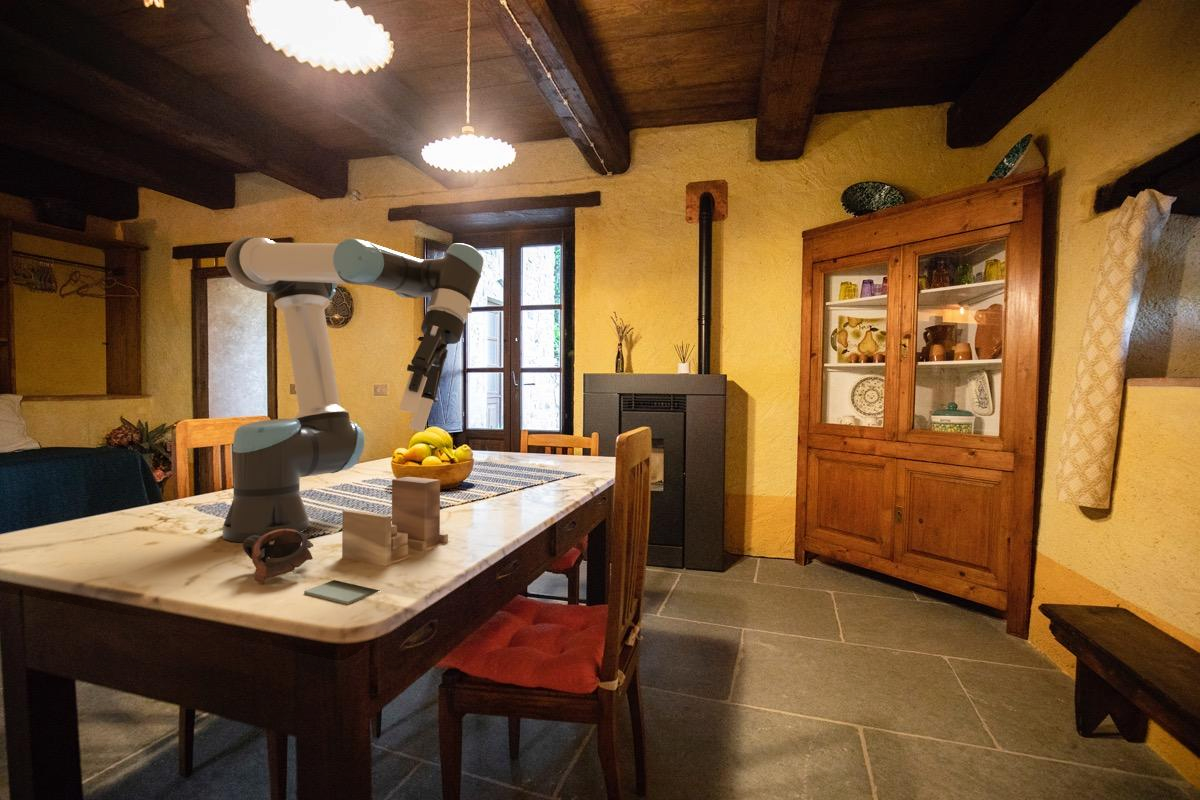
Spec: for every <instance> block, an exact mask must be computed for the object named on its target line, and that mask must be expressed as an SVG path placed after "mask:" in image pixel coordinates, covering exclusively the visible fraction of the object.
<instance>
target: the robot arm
mask: <svg viewBox="0 0 1200 800" xmlns="http://www.w3.org/2000/svg"><path fill="white" fill-rule="evenodd" d="M444 253H445V255H444V257H436V258H429V259H423V258H421V259H420V258H417V257H414V256H411V255H408V254H405V253H401V252H400V251H395V250H392V249H389V248H387V247H383V246H380V245H377V244H375V243H372V242H371V241H368V240H363V239H358V238H353V237H352V238H351V237H350V238H349V237H348V238H345V239H344V240H343V241H340V242H339V243H324V242H323V243H322V242H321V243H319V242H318V243H317V242H316V243H313V242H311V243H310V242H276V241H274V240H270V239H269V238H266V237H256V236H255V237H254V236H245V237H241V238H238V239H236V240H234V241H233V242H232V243H231V244H230V245H229V246H228V247H227V250H226V252H225V256H224V261H225V267H226V269H227V271H228V272H229V274H230V275H231V277H232V278H233V279H234V280H235V281H236V282H238V283H239V284H241V285H242V286H243V287H246V288H248V289H251V290H255V291H258V292H261V293H267V294H272V298H273V303H274V307H275V308H276V309H278V310H279V311H280V312H282V314H283V319H284V325H285V332H286V337H287V343H288V350H289V356H290V363H291V367H292V368H291V369H292V375H293V381H294V387H295V393H296V398H297V399H296V400H297V401H296V402H297V404H298V405H297V406H298V412H297V414H296V415H295V416H294V418H275V419H267V420H259V421H253V422H249V423H244V424H242V425H240V426H239V427H237V428H236V429H235V431H234V433H233V434H234V435H233V444H232V452H233V458H232V459H233V497H232V498H233V499H232V501H231V504H230V507H229V510H228V512H227V515H226V517H225V519H224V523H223V525H222V539H223V540H225V541H229V542H233V543H234V542H235V543H244V541H245V540H246V539H247V538H248V537H250V536H253V535H257V536H261V537H262V536H263V535H265V534H267V533H269V532H271V531H274V530H279V529H294V530H297V531H300V532H301V531H303V530H305V529H307V528H308V527H309V528H310V526H309V525H310V524H309V523H310V519H309V515H308V512H307V510H306V506H305V505H304V502H303V499H302V496H301V493H300V492H301V491H300V489H301V488H300V485H301V484H300V482H301V481H300V478H306V477H311V476H318V475H323V474H335V473H338V472H342V471H347V470H349V469H352V468H353V467H355V465H357V463H358V462H359V461H360V459H361V457H362V456H363V453H364V451H365V450H364V449H365V435H364V434H365V433H364V432H363V429H362V428H361V427H360V425H359V424H357V423H356V422H353V421H352V420H351V419H350V412H349V411H348V410H346V409H345V408H344V407H342V406H341V402H340V396H339V391H338V384H337V378H336V374H335V373H336V372H335V368H334V367H335V366H334V360H333V355H332V349H331V342H330V336H329V330H328V325H327V317H326V312H325V310H326V309H327V308H328V306H330V304H331V301H330V300H332V299H333V297H334V296H335V294H336V292H337V290H336V289H335V288H338V284H342V285H343V284H345V285H346V284H347V285H355V286H369V287H370V286H371V287H375V288H380V289H385V290H388V291H393V292H394V293H395V294H396V295H397V296H399V297H401V298H405V299H406V298H407V299H408V298H409V299H419V298H420V299H421V298H429V303H428V305H427V308H426V312H425V314H424V317H423V320H422V323H421V324H420V325H421V326H420V330H421V333H423V335H424V336H423V337H422V340H421V341H420V343H419V345H418V347H417V348H416V349H417V350H416V351H415V354H414V356H413V357H412V359H411V364H407V367H406V371H407V372H410V375H409V377H408V381H407V383H406V386H405V388H404V392H403V394H402V398H401V401H400V404H399V406H398V410H401V411H405V412H409V413H412V417H411V420H410V423H409V426H408V429H410V430H413V431H418V432H421V433H424V432H425V430H426V429H425V428H426V425H427V422H428V419H429V416H430V413H431V409H432V407H433V403H434V402H435V403H438V401H439V398H438V397H437V395H438V391H439V387H440V383H441V382H440V381H441V378H442V372H443V369H444V365H445V361H446V359H447V357H448V356H447V355H448V349H447V348H448V345H455V344H457V343H459V342H460V341H461V339H462V335H463V333H464V332H463V331H464V329H465V323H466V322H467V318H468V314H472V312H473V309H472V308H471V306H472V303H473V299H474V296H475V293H476V290H477V287H478V284H479V280H480V279H481V277H482V271H483V267H484V258H483V257H484V256H482V254H481V253H480V252H479V251H478V250H477V249H476V248H475V247H473V246H472V245H469V244H466V243H460V242H459V243H458V242H457V243H452V244H451V245H449V246H448V248H447V250H446V252H444ZM309 528H308V529H309Z"/></svg>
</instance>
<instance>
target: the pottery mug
mask: <svg viewBox="0 0 1200 800" xmlns="http://www.w3.org/2000/svg"><path fill="white" fill-rule="evenodd" d="M270 542H273V543H271V544H270ZM312 547H313V548H314V543H312V542H311V541H310V540H309V539H308V536H307V535H306V534H305V533H304V532H303V533H302V532H300V531H297V530H294V529H279V530H274V531H271V532H269V533H267V534H265V535H263V536H262V537H261V536H257V535H253V536H250V537H248V538H247V539H246V540H245V541H244V542H242V549H243V551H244V553H245V554H246V556H247V557H248V558H249V559H250V560H251V561H252V564H253V565H254V566H253V567H255V571H254V575H253V579H254V581H255V582H256V583H258V584H260V585H264V583H265V582H266V580H269V579H271V578H276V577H279V576H281V575H286V574H287V573H291V572H293V571H294V570H295V568H300V567H301V566H302V565H303V564H305V562H306V561H308V560H309V561H312V560H313V556H312V553H311V551H310V549H311V548H312Z"/></svg>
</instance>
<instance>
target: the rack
mask: <svg viewBox="0 0 1200 800" xmlns="http://www.w3.org/2000/svg"><path fill="white" fill-rule="evenodd" d="M341 513H342V517H341V519H342V526H341V527H342V529H341V530H342V531H341V532H342V533H341V534H342V535H341V538H342V541H341V542H342V543H341V546H342V547H341V552H342V554H341V557H342V558H343V559H348V560H353V561H357V562H362V563H368V564H372V565H376V566H377V565H378V566H381V567H382V566H383V567H387V566H390V565H393V564H395V563H398V562H400V561H403V560H406V559H407V558H411V557H413V556H416V555H419V554H421V553H424V552H427V551H429V550H432V549H435V548H437V547H439V546H442V545H445V544H447V543H451V542H452V541H451V540H449V534H448V533H444V532H440V543H439V544H436V545H433V546H431V547H428V548H426V542H425V541H419V540H413V539H408V533H399V532H397V526H396V525H392V515H388V514H383V513H382V514H381V513H374V512H369V511H368V512H367V511H361V510H354V509H345V510H342V512H341Z"/></svg>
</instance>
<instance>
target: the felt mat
mask: <svg viewBox="0 0 1200 800" xmlns="http://www.w3.org/2000/svg"><path fill="white" fill-rule="evenodd" d="M378 591H379V592H381V589H380V590H379V589H376V588H371V587H367V586H362V585H358V584H354V583H353V584H352V583H349V582H346V581H345V582H344V581H340V580H336V579H334V580H333V579H332V580H330V581H327V582H325V583H322V584H318V585H317V586H314V587H312V588H308V589H305V590H304V595H309V596H313V597H317V598H321V599H325V600H327V601H328V600H329V601H332V602H337V603H341V604H344V605H351V604H353V603H355V602H358V601H359V600H362V599H365V598H367V597H369V596H371V595H374V594H376V593H379V592H378ZM366 596H367V597H366ZM364 597H365V598H364ZM357 600H358V601H357ZM352 602H353V603H352ZM350 603H351V604H350Z"/></svg>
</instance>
